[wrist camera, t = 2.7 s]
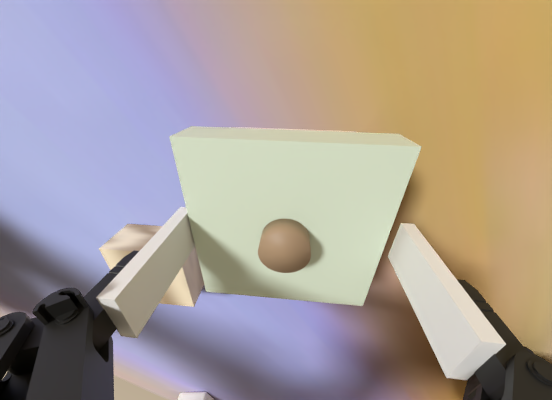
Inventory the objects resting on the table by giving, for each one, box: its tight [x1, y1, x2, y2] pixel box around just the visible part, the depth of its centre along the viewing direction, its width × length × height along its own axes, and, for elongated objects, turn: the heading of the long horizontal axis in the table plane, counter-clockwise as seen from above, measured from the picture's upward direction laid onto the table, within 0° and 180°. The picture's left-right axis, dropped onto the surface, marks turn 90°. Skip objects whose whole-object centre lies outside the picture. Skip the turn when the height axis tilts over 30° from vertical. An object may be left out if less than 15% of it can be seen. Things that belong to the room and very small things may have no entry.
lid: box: [170, 126, 421, 306], centre depth 14 cm, size 12×12×4 cm
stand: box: [99, 224, 204, 307], centre depth 24 cm, size 8×8×4 cm
